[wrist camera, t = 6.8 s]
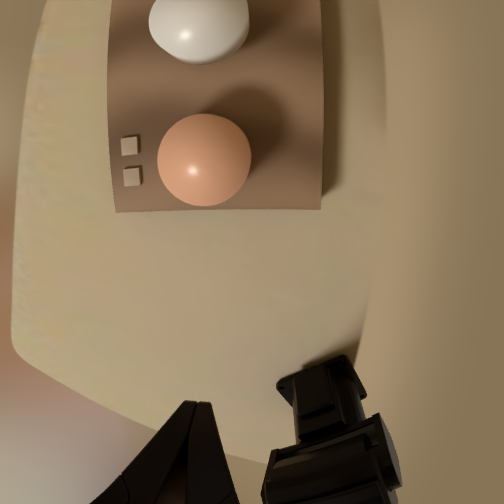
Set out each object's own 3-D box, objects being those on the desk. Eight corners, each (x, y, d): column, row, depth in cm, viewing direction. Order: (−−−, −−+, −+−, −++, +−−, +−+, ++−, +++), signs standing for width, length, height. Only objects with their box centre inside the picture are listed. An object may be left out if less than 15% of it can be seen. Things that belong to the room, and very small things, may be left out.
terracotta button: (251, 196, 16) (250, 205, 14) (171, 198, 16) (160, 207, 14) (251, 114, 14) (249, 111, 13) (167, 118, 15) (155, 117, 13)
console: (315, 203, 18) (321, 210, 16) (125, 206, 18) (114, 213, 17) (307, -73, 10) (311, -86, 9) (131, -58, 11) (122, -68, 9)
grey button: (249, 62, 12) (248, 52, 11) (160, 69, 13) (147, 62, 11) (249, -11, 11) (247, -28, 9) (163, -3, 11) (151, -17, 9)
